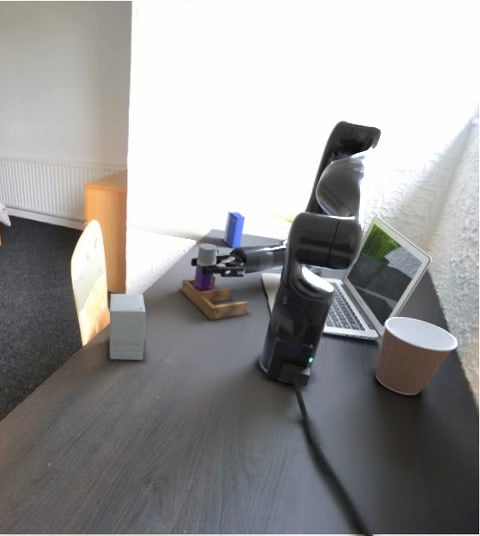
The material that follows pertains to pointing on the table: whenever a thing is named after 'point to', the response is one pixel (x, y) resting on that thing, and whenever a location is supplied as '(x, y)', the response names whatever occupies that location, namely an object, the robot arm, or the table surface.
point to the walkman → (234, 229)
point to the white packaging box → (127, 326)
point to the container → (204, 259)
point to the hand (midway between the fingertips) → (196, 266)
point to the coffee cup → (411, 354)
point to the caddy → (213, 300)
